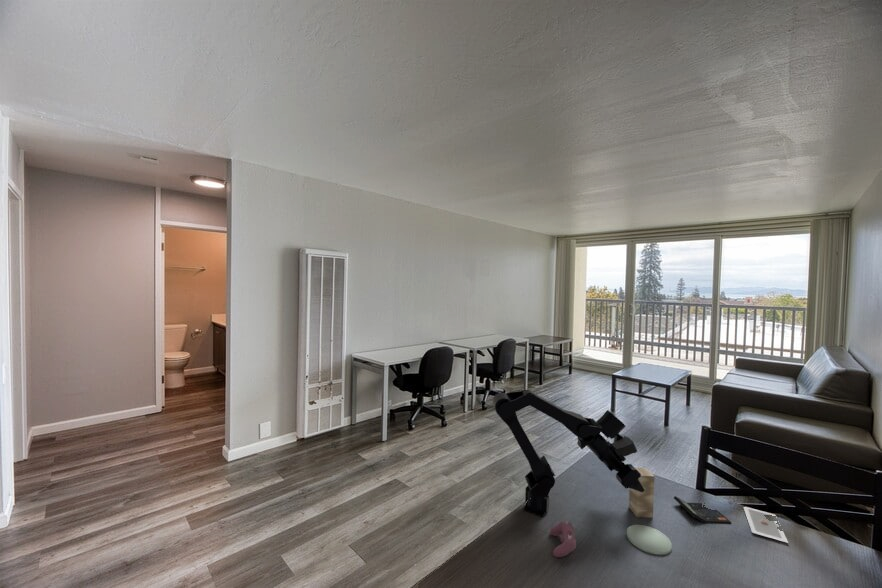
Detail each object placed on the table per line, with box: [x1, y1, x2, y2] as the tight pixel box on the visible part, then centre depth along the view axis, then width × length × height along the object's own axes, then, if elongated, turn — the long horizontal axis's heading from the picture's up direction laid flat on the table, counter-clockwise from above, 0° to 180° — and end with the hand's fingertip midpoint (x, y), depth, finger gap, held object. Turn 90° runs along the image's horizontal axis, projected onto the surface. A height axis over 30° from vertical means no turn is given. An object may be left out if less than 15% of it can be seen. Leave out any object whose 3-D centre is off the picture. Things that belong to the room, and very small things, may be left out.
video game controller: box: [549, 520, 577, 558], centre depth 99 cm, size 10×5×7 cm, turn 169°
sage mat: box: [626, 524, 673, 556], centre depth 102 cm, size 11×11×1 cm
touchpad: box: [743, 506, 789, 544], centre depth 110 cm, size 8×15×2 cm, turn 148°
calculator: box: [673, 495, 732, 525], centre depth 115 cm, size 9×12×3 cm
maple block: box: [628, 467, 655, 518], centre depth 115 cm, size 5×5×13 cm
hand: (635, 482), depth 115 cm, fingers open, 9 cm apart
